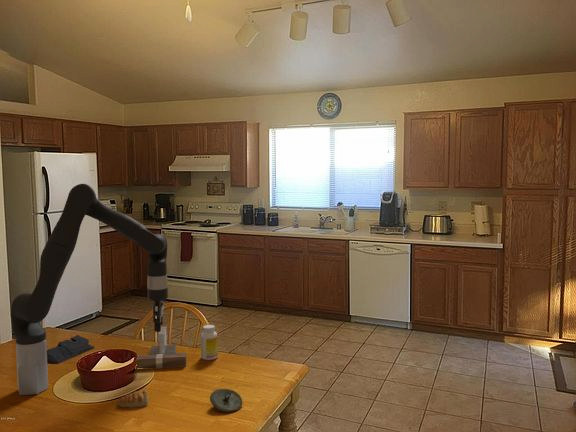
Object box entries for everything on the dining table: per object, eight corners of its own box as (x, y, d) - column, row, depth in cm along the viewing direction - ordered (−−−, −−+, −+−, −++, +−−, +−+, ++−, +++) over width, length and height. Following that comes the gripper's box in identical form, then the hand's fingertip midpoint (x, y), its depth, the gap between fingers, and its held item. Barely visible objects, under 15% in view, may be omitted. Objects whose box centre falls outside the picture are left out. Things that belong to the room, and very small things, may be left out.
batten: (185, 366, 188) (185, 356, 188) (132, 370, 185) (131, 359, 184) (186, 362, 192) (186, 352, 192) (133, 365, 189) (133, 355, 188)
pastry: (118, 411, 153) (117, 399, 152) (117, 402, 159) (117, 390, 159) (149, 406, 156) (148, 394, 156) (147, 397, 162) (147, 386, 162)
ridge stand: (174, 357, 197) (173, 333, 196) (148, 359, 195) (148, 334, 195) (176, 349, 207) (175, 326, 206) (151, 350, 205) (151, 327, 204)
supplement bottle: (221, 356, 198) (220, 325, 197) (210, 361, 193) (209, 330, 192) (208, 353, 202) (208, 323, 201) (197, 358, 196) (197, 327, 195)
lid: (227, 396, 163) (227, 381, 162) (249, 404, 156) (249, 389, 156) (203, 407, 154) (203, 392, 154) (225, 417, 148) (225, 401, 148)
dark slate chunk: (28, 360, 196) (27, 349, 195) (71, 343, 216) (70, 332, 216) (57, 366, 190) (56, 354, 189) (98, 347, 210) (98, 336, 210)
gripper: (166, 290, 180) (167, 333, 181) (169, 282, 194) (170, 322, 195) (145, 291, 178) (146, 334, 180) (149, 282, 192) (150, 323, 194)
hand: (158, 328), depth 187 cm, fingers open, 8 cm apart
